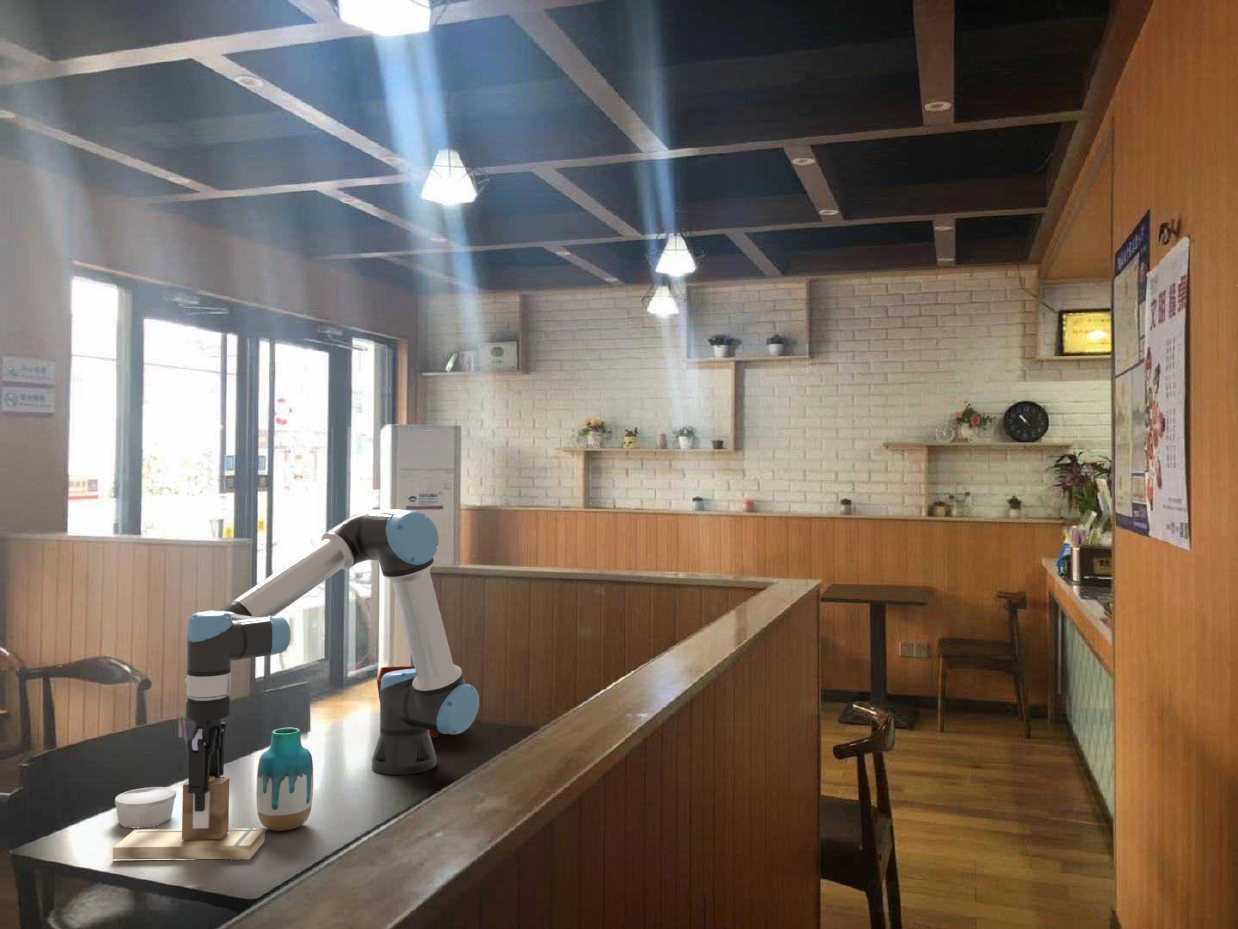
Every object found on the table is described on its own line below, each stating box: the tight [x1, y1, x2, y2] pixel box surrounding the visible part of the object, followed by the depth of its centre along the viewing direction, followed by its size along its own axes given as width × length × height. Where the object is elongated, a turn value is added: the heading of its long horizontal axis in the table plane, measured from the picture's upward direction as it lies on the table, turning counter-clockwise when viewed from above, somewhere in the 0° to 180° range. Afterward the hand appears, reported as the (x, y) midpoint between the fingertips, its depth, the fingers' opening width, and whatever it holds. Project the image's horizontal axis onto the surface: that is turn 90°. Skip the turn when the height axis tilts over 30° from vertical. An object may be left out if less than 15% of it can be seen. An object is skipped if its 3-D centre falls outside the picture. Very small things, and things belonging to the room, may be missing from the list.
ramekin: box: [114, 786, 177, 829], centre depth 196 cm, size 11×11×5 cm
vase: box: [255, 727, 314, 832], centre depth 192 cm, size 11×11×19 cm
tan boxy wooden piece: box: [181, 776, 230, 840], centre depth 182 cm, size 7×8×11 cm
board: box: [112, 827, 266, 861], centre depth 180 cm, size 24×9×3 cm, turn 94°
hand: (205, 823), depth 180 cm, fingers closed on tan boxy wooden piece, 4 cm apart
